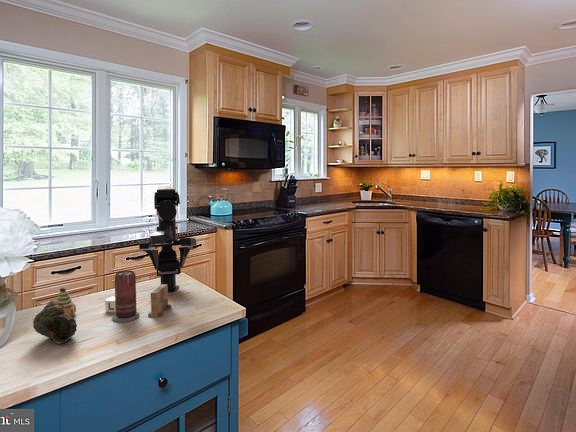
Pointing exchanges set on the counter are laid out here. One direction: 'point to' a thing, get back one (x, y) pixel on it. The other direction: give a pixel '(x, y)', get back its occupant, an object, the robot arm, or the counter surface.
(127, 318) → the coaster
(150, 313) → the screen
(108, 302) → the letter block
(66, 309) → the ornament
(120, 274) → the can
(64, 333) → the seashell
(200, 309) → the counter surface
